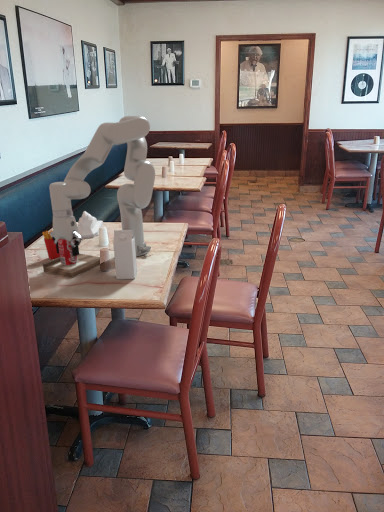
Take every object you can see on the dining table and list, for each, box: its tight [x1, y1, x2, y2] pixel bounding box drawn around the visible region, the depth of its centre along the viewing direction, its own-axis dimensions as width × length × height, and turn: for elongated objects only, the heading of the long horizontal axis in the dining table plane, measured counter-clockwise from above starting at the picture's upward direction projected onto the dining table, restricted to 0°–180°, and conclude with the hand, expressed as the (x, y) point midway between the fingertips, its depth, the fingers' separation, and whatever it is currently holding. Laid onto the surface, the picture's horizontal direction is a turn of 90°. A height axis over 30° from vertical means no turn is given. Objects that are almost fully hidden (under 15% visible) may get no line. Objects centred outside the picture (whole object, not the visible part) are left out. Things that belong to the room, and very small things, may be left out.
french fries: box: [42, 229, 60, 260], centre depth 201 cm, size 9×4×13 cm, turn 102°
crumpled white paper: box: [77, 210, 104, 240], centre depth 234 cm, size 12×15×14 cm
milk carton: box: [112, 229, 138, 280], centre depth 175 cm, size 7×7×19 cm
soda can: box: [58, 238, 78, 266], centre depth 186 cm, size 7×7×12 cm
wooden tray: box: [42, 253, 101, 279], centre depth 190 cm, size 16×20×4 cm
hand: (68, 253), depth 186 cm, fingers open, 8 cm apart
